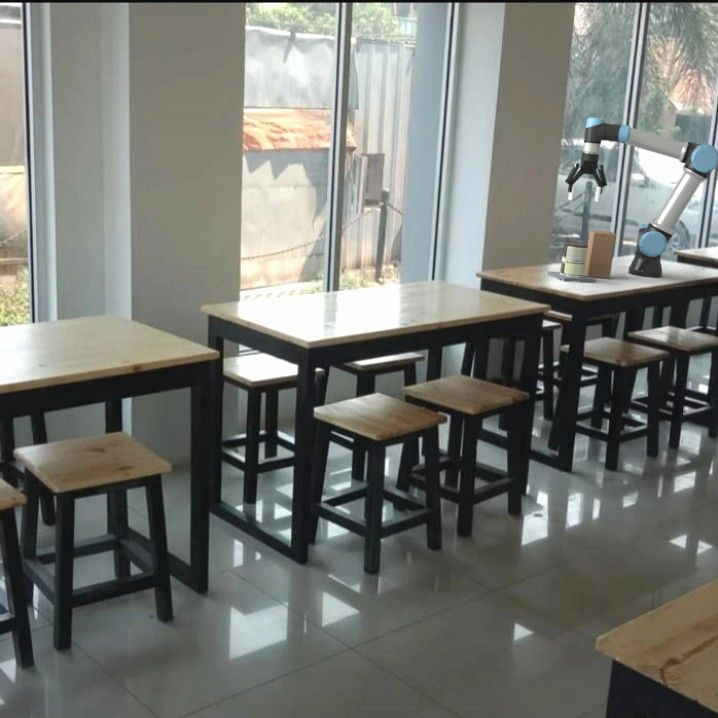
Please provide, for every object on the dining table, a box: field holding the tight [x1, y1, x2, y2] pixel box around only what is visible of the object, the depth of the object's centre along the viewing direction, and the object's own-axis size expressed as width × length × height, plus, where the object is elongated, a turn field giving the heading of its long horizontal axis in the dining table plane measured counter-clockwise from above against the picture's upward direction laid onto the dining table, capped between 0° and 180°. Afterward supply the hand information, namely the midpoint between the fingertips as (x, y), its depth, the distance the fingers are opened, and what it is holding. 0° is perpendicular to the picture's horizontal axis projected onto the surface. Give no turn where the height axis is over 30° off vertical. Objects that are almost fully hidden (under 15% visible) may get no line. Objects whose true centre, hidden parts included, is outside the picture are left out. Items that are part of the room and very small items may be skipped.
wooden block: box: [584, 229, 617, 280], centre depth 462 cm, size 10×10×20 cm
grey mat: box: [546, 271, 596, 284], centre depth 452 cm, size 15×15×2 cm
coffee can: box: [559, 240, 588, 277], centre depth 450 cm, size 10×10×14 cm
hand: (583, 200), depth 469 cm, fingers open, 13 cm apart
